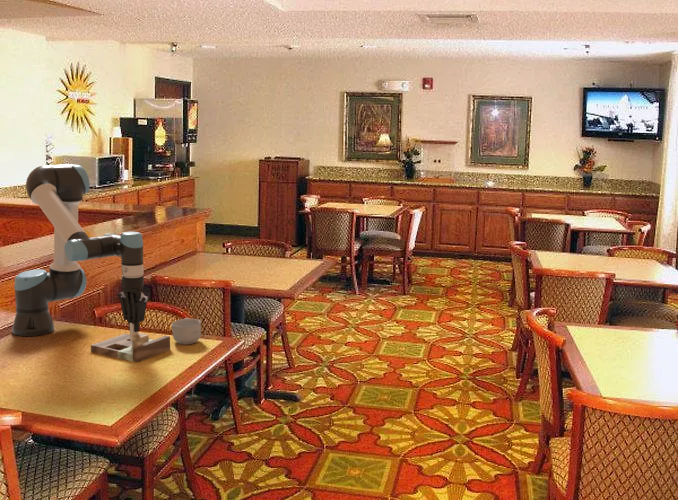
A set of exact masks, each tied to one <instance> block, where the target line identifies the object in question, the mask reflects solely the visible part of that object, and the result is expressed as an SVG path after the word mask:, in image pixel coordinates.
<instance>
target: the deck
mask: <svg viewBox="0 0 678 500" xmlns="http://www.w3.org/2000/svg"><path fill="white" fill-rule="evenodd" d="M170 350H171V336H170V335H163V336H161V337H158V338H156V339H152V338H149V342H147V343H144V344H141V345H139V346H136V347H132V341H130V333H122V334H119V335H117V336H114V337H110V338H108V339H105V340H102V341H99V342H96V343H92V344H90V352H91V353H94V354H99V355H103V356H107V357H112V358H114V359H115V358H117V359H120V360H124V361H125V360H126V361H129V362H133V363H140V362H142V361H145V360H148V359H150V358H152V357H155V356H157V355H160V354H162V353H163V354H164V353H165V352H167V351H170Z"/></svg>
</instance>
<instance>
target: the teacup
mask: <svg viewBox="0 0 678 500" xmlns="http://www.w3.org/2000/svg"><path fill="white" fill-rule="evenodd" d="M201 326H202V322H201V320H200V319H199V318H189V317H185V318H181V319H177V320H175V321H173V322H172V323H171V328H172V329H171V331H172V337H173V340H174V341H175V342H177V344H179V345H184V346H185V345H186V346H187V345H192V344H195V343H197V342H198V341H199V339H200V338H201V336H202V327H201Z"/></svg>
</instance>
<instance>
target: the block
mask: <svg viewBox="0 0 678 500" xmlns="http://www.w3.org/2000/svg"><path fill="white" fill-rule="evenodd" d="M149 339H150V337H149V334H146V333H143V332H138V334H136V335H133V336H132V347H136V346H139V345H141V344H144V343H147V342H149Z"/></svg>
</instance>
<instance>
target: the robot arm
mask: <svg viewBox="0 0 678 500" xmlns="http://www.w3.org/2000/svg"><path fill="white" fill-rule="evenodd" d="M90 184H91V182H90V179H89V175H88V173H87V171H86V169H85V168H84V167H83V166H82V165H80V164H72V163H66V164H52V165H49V164H48V165H45V164H43V165H39V166H38V167H35V168H34V169H33V170H32V171H30V172H29V174H28V176H27V178H26V181H25V189H26V193H27V196H28V197H29V198H30V201H31V202H32V203H33V204H35V205H38V207H39V208H40V209H41V211H42V212H43V213H44V215H45V216H46V217H47V219H48V220H49V222H50V223H51V224H52V226H53V228H54V230H53V231H54V234H53V235H54V236H53V262H51V264H50V265H49V271H47V270H45V269H40V268H39V269H30V270H25V271H23V272H20V273H18V274H17V275H16V276H15V278H14V286H13V289H14V297H15V317H14V320H13V324H12V327H11V329H12V334H13V335H14V336H19V337H37V336H43V335H46V334H50V333H53V331H55V323H54V320H53V318H52V316H51V313H50V311H49V303H51V302H57V301H63V300H68V299H69V300H71V299H72V300H73V298H78V297H81V295H83V293H84V292H85V290H86V287H87V276H86V273H85V271H84V269H83V268H81V265H80V264H79V263H78V262H83V261H87V260H93V259H103V258H107V257H108V258H109V257H118V258H121V259H120V261H121V275H122V277H121V287H122V291H121V292H119V293H117V297H118V299H119V302H120V307H121V311H122V317H123V320H124V321H127V322H128V331H129V334H130V341H132V336H133V335H136V334H139V332H140V323H142V322H144V320H145V317H146V309H147V305H148V302H149V299H150V297H149V296H148V295H147V296H146V295H145V294H144V290H143V289H144V285H145V283H144V282H145V281H144V278H145V277H144V276H143V275H144V274H145V273H144V241H143V239H144V238H143V234H142V233H141V232H140V231H139V232H138V231H125V232H121V234H116V233H105V234H104V235H101V236H92V237H90V236H89V235H88V233H86V231H85V230H84V228H82V226H81V224H79V205H80V203H82V201H83V200H84V199H83V197H84V195H85V194H88V193H89V190H90Z"/></svg>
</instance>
